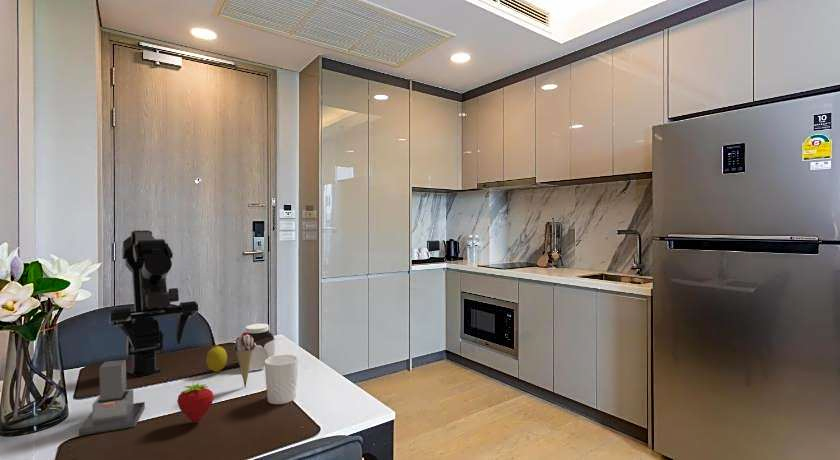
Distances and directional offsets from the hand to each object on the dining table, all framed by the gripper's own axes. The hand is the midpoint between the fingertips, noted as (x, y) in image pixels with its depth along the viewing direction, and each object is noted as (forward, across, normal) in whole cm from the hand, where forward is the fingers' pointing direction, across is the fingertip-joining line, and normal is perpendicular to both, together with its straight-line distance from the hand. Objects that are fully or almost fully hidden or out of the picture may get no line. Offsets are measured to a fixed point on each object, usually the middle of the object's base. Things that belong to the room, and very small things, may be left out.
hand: (157, 347), depth 106 cm
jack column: (+13, -9, -1) cm, 16 cm away
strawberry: (+20, +5, -12) cm, 23 cm away
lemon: (+8, +17, +17) cm, 25 cm away
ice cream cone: (+14, +20, +1) cm, 24 cm away
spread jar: (+8, +28, +16) cm, 34 cm away
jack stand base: (+15, -9, 0) cm, 17 cm away
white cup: (+19, +24, -11) cm, 33 cm away
